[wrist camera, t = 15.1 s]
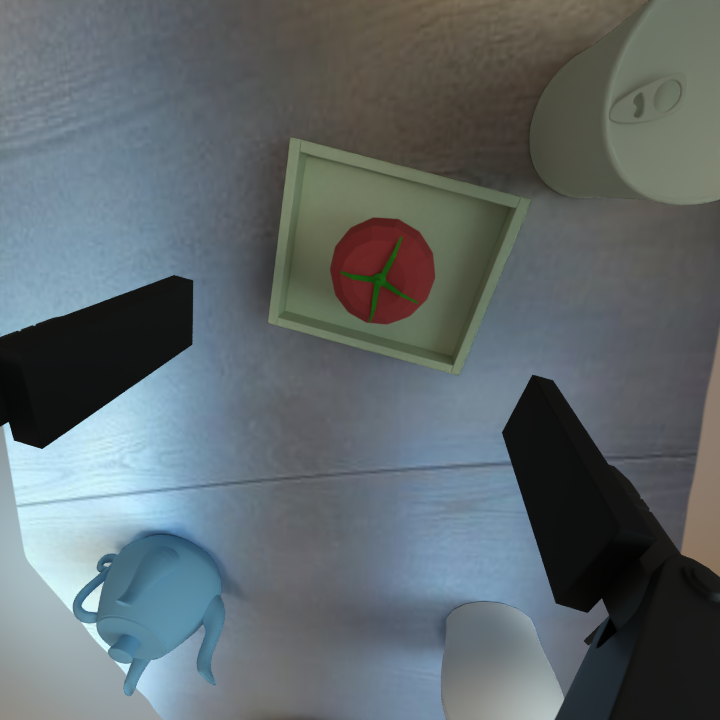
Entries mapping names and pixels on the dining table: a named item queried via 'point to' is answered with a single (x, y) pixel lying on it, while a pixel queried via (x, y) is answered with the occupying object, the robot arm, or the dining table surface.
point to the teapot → (155, 603)
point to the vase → (496, 667)
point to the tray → (412, 206)
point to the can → (637, 110)
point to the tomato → (382, 270)
